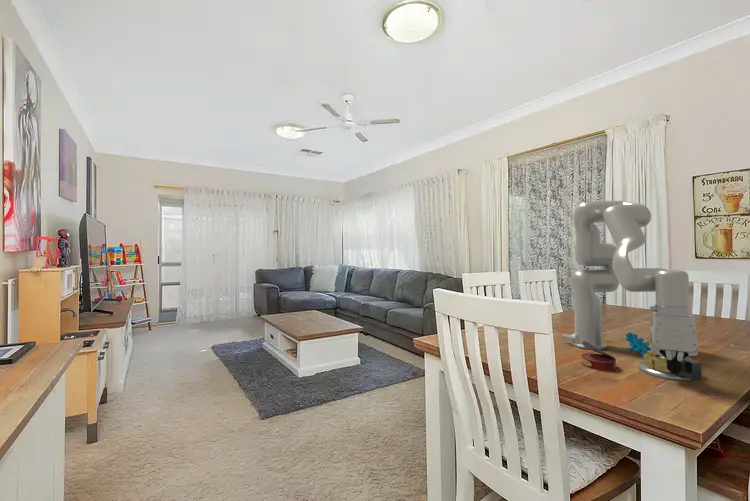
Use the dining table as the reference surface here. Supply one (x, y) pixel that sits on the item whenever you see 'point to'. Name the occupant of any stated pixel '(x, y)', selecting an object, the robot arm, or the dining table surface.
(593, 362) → the canned food
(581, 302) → the robot arm
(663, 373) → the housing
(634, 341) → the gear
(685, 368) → the ring nut
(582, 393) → the dining table surface
